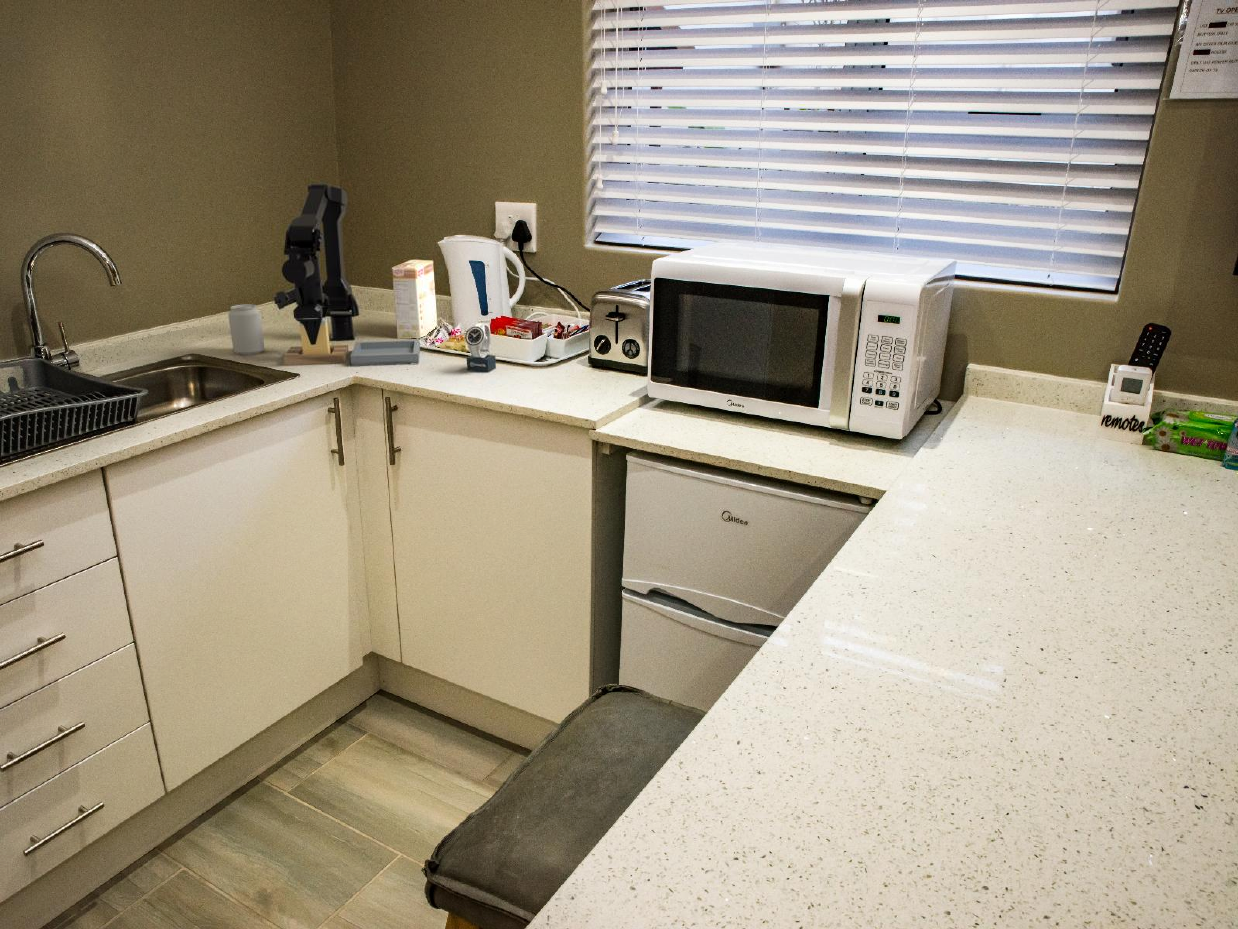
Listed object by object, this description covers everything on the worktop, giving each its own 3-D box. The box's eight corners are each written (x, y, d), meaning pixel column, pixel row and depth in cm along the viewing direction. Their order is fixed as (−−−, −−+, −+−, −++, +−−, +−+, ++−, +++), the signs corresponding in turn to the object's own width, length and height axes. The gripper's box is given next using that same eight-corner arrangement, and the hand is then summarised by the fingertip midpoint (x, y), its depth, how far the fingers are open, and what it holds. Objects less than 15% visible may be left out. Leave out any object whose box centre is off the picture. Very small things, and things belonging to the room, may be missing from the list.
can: (232, 350, 240) (226, 304, 236) (263, 348, 243) (257, 302, 239) (234, 356, 233) (228, 309, 229) (266, 354, 236) (260, 307, 232)
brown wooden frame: (291, 354, 236) (290, 346, 235) (348, 352, 238) (347, 344, 238) (284, 365, 225) (283, 357, 224) (344, 363, 227) (343, 355, 227)
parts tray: (356, 351, 240) (356, 341, 239) (420, 349, 242) (419, 339, 242) (351, 366, 225) (350, 356, 224) (418, 363, 228) (417, 353, 227)
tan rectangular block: (306, 357, 233) (301, 318, 230) (330, 356, 234) (326, 317, 231) (303, 361, 229) (299, 321, 226) (329, 360, 230) (324, 320, 227)
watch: (463, 372, 220) (461, 326, 216) (478, 364, 227) (476, 320, 223) (485, 374, 218) (483, 328, 215) (499, 366, 226) (497, 321, 222)
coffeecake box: (414, 327, 268) (410, 259, 261) (438, 328, 267) (434, 259, 261) (396, 338, 254) (390, 266, 248) (421, 339, 253) (416, 267, 247)
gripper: (280, 272, 232) (287, 333, 237) (267, 284, 215) (275, 350, 220) (326, 271, 234) (332, 332, 239) (317, 282, 217) (324, 348, 222)
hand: (315, 340), depth 230 cm, fingers open, 9 cm apart
